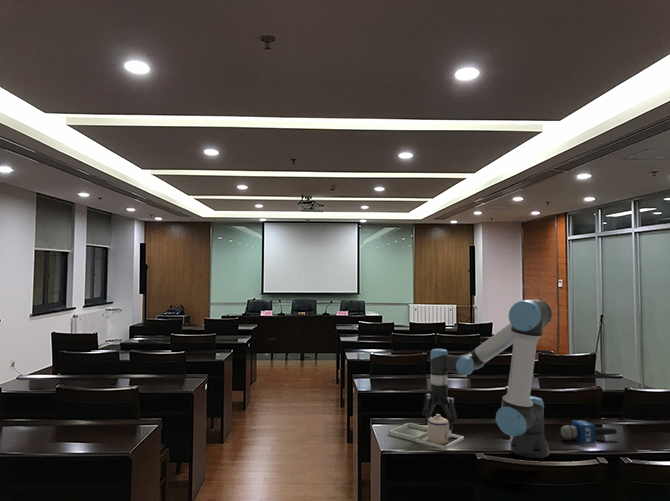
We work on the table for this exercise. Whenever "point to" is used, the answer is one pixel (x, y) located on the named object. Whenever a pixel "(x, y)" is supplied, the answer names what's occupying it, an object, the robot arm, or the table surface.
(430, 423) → the teacup with lid
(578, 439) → the microphone
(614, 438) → the table surface
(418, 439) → the divided tray
